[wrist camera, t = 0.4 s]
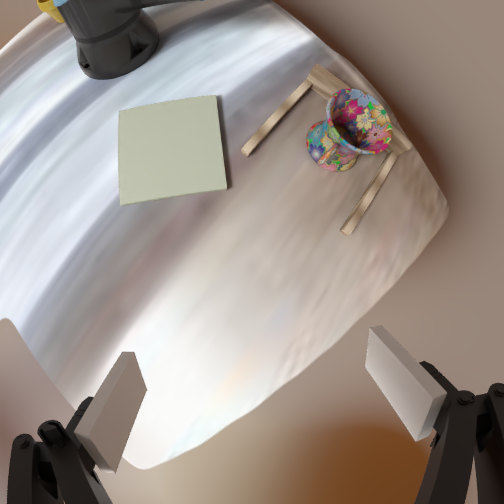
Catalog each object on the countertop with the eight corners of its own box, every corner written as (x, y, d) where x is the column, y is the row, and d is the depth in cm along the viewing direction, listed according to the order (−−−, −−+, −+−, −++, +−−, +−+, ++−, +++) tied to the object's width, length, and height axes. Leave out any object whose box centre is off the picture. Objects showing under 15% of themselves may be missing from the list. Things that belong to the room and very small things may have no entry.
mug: (324, 110, 40) (351, 77, 30) (366, 150, 41) (403, 126, 30) (278, 157, 39) (298, 126, 29) (325, 200, 40) (359, 184, 29)
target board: (120, 114, 36) (119, 111, 35) (215, 98, 38) (215, 94, 37) (122, 206, 36) (120, 205, 35) (226, 190, 38) (227, 188, 37)
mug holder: (345, 235, 40) (361, 233, 35) (240, 152, 38) (244, 138, 33) (395, 153, 42) (412, 144, 37) (307, 79, 40) (317, 63, 35)
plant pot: (89, -5, 34) (79, -31, 25) (91, 13, 35) (78, -15, 25) (52, 14, 33) (38, -8, 23) (50, 35, 34) (34, 11, 24)
